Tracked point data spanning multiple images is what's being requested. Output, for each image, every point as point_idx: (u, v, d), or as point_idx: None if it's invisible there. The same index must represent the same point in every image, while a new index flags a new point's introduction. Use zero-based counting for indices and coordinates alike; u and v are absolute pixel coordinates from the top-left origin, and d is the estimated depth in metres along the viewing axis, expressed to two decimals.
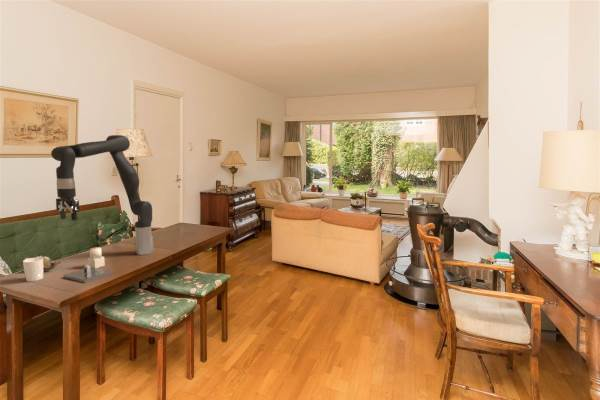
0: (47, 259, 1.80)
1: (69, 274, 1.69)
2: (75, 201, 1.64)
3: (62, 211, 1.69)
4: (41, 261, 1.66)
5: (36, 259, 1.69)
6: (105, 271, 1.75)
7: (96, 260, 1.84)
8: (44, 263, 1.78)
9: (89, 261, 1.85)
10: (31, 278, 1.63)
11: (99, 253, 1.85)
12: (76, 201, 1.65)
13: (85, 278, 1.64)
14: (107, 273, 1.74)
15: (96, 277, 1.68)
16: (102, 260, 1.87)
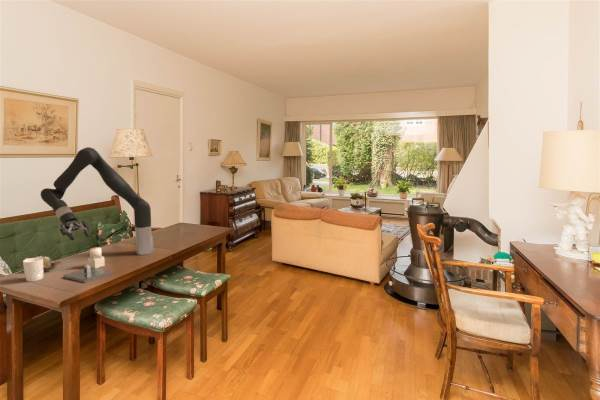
0: (47, 259, 1.80)
1: (69, 274, 1.69)
2: (59, 227, 1.85)
3: (84, 231, 1.94)
4: (41, 261, 1.66)
5: (36, 259, 1.69)
6: (105, 271, 1.75)
7: (96, 260, 1.84)
8: (44, 263, 1.78)
9: (89, 261, 1.85)
10: (31, 278, 1.63)
11: (99, 253, 1.85)
12: (59, 226, 1.85)
13: (85, 278, 1.64)
14: (107, 273, 1.74)
15: (96, 277, 1.68)
16: (102, 260, 1.87)
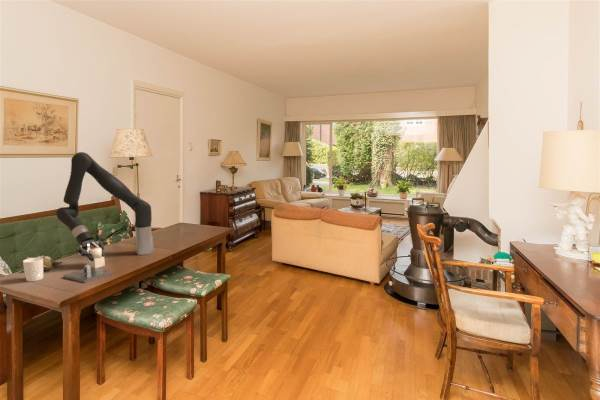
0: (48, 259, 1.80)
1: (69, 274, 1.69)
2: (77, 248, 1.82)
3: None
4: (41, 261, 1.66)
5: (36, 259, 1.69)
6: (105, 271, 1.75)
7: (96, 260, 1.84)
8: (45, 263, 1.78)
9: (89, 261, 1.85)
10: (31, 278, 1.63)
11: (99, 253, 1.85)
12: (77, 248, 1.81)
13: (85, 278, 1.64)
14: (107, 273, 1.74)
15: (96, 277, 1.68)
16: (102, 260, 1.87)
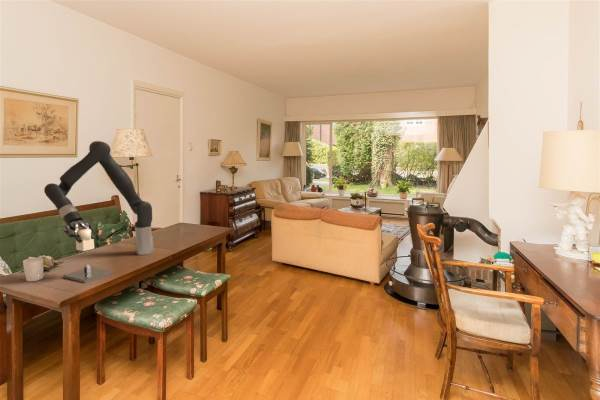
0: (49, 259, 1.80)
1: (69, 274, 1.69)
2: (63, 229, 1.67)
3: None
4: (41, 261, 1.66)
5: (36, 259, 1.69)
6: (105, 271, 1.75)
7: (84, 242, 1.69)
8: (46, 263, 1.79)
9: (77, 243, 1.70)
10: (31, 278, 1.63)
11: (88, 235, 1.70)
12: (64, 228, 1.66)
13: (85, 278, 1.64)
14: (107, 273, 1.74)
15: (96, 277, 1.68)
16: (91, 242, 1.72)
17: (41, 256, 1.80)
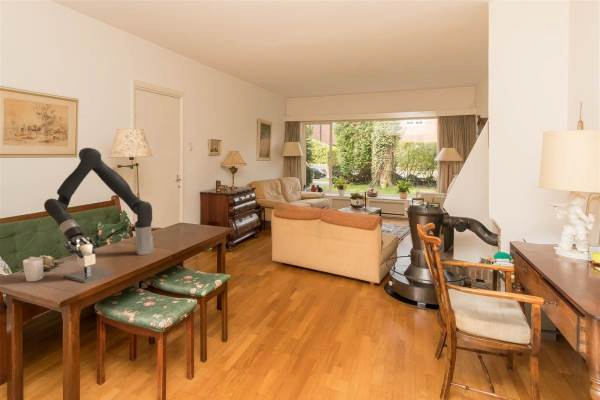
0: (49, 259, 1.81)
1: (69, 274, 1.69)
2: (65, 244, 1.66)
3: None
4: (41, 261, 1.66)
5: (36, 259, 1.69)
6: (105, 271, 1.75)
7: (86, 257, 1.68)
8: (46, 262, 1.79)
9: (78, 258, 1.69)
10: (31, 278, 1.63)
11: (89, 250, 1.70)
12: (65, 244, 1.66)
13: (85, 278, 1.64)
14: (107, 273, 1.74)
15: (96, 277, 1.68)
16: (93, 258, 1.71)
17: (42, 256, 1.80)
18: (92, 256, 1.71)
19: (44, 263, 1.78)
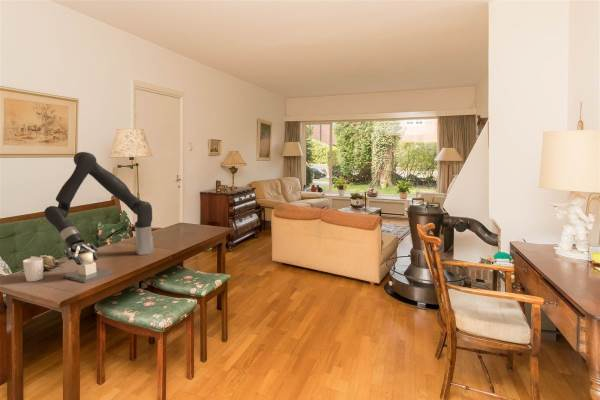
0: (50, 258, 1.81)
1: (69, 274, 1.69)
2: (64, 251, 1.66)
3: None
4: (41, 261, 1.66)
5: (36, 259, 1.69)
6: (105, 271, 1.75)
7: (87, 266, 1.69)
8: (47, 262, 1.79)
9: (79, 267, 1.70)
10: (31, 278, 1.63)
11: (90, 259, 1.70)
12: (65, 250, 1.66)
13: (85, 278, 1.64)
14: (107, 273, 1.74)
15: (96, 277, 1.68)
16: (93, 266, 1.72)
17: (42, 256, 1.80)
18: (93, 265, 1.72)
19: (44, 263, 1.79)
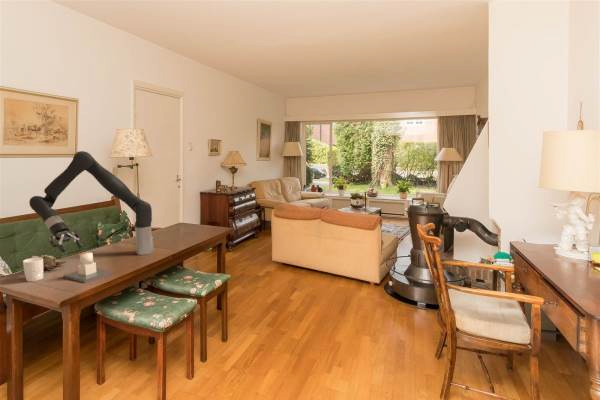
0: (51, 258, 1.81)
1: (69, 274, 1.69)
2: (49, 238, 1.72)
3: (76, 242, 1.81)
4: (41, 261, 1.66)
5: (36, 259, 1.69)
6: (105, 271, 1.75)
7: (87, 266, 1.69)
8: (47, 262, 1.79)
9: (79, 267, 1.70)
10: (31, 278, 1.63)
11: (90, 259, 1.70)
12: (49, 238, 1.72)
13: (85, 278, 1.64)
14: (107, 273, 1.74)
15: (96, 277, 1.68)
16: (93, 266, 1.72)
17: (43, 255, 1.81)
18: (93, 265, 1.72)
19: (45, 263, 1.79)
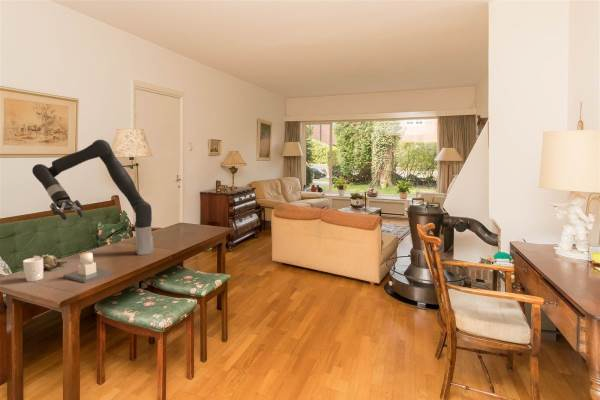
0: (51, 258, 1.81)
1: (69, 274, 1.69)
2: (50, 206, 1.73)
3: (77, 211, 1.82)
4: (41, 261, 1.66)
5: (36, 259, 1.69)
6: (105, 271, 1.75)
7: (87, 266, 1.69)
8: (48, 262, 1.80)
9: (79, 267, 1.70)
10: (31, 278, 1.63)
11: (90, 259, 1.70)
12: (51, 205, 1.73)
13: (85, 278, 1.64)
14: (107, 273, 1.74)
15: (96, 277, 1.68)
16: (93, 266, 1.72)
17: (44, 255, 1.81)
18: (93, 265, 1.72)
19: (46, 262, 1.79)
